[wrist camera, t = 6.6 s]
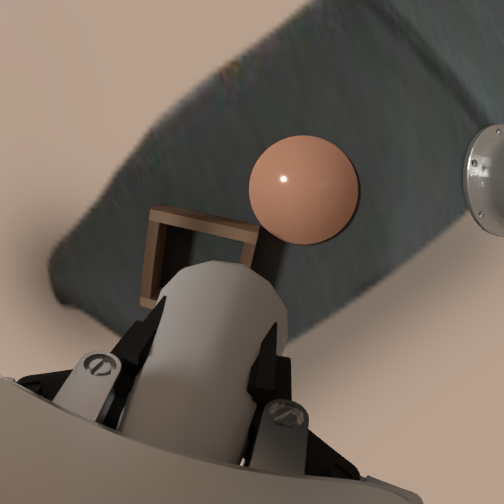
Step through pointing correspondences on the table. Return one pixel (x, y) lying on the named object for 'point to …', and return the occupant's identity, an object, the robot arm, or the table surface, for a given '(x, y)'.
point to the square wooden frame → (193, 221)
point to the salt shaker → (204, 362)
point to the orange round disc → (303, 189)
